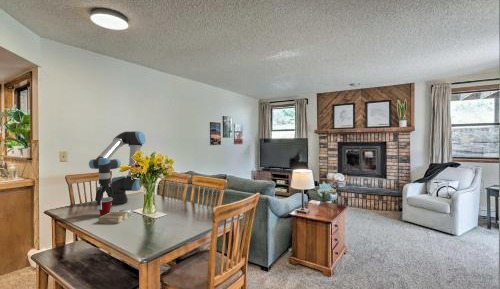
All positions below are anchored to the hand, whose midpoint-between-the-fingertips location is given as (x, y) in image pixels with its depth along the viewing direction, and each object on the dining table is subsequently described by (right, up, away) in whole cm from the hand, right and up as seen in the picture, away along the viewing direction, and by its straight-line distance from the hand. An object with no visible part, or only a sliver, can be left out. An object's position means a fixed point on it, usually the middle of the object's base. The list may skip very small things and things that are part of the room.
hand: (104, 207), depth 188 cm
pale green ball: (+15, -7, +1) cm, 16 cm away
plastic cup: (0, -6, 0) cm, 6 cm away
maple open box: (+13, -6, -11) cm, 19 cm away
